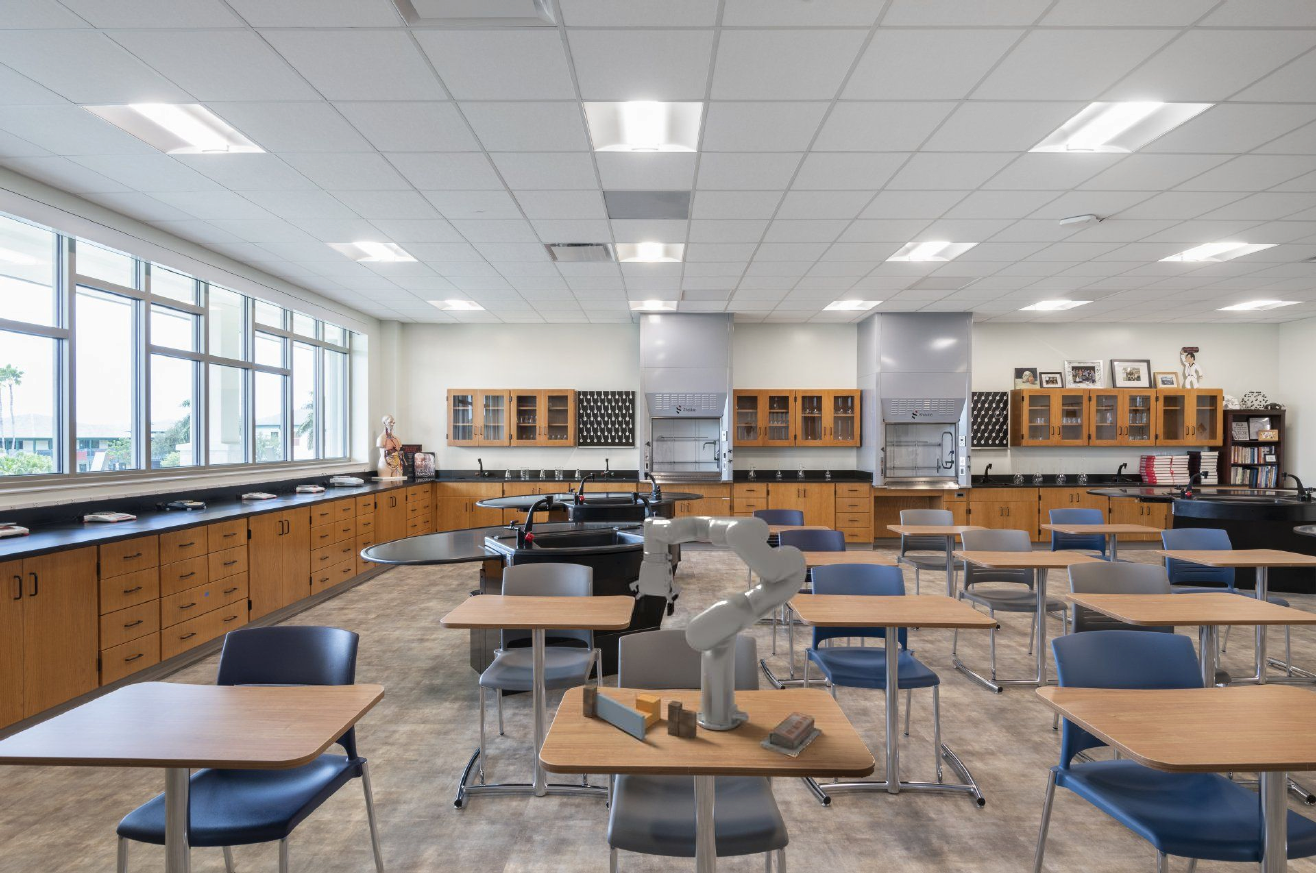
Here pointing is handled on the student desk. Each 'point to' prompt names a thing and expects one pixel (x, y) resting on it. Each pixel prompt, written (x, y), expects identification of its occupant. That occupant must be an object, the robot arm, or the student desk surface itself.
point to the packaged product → (791, 734)
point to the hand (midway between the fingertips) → (655, 613)
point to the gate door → (620, 715)
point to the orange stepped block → (649, 708)
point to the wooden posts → (678, 719)
